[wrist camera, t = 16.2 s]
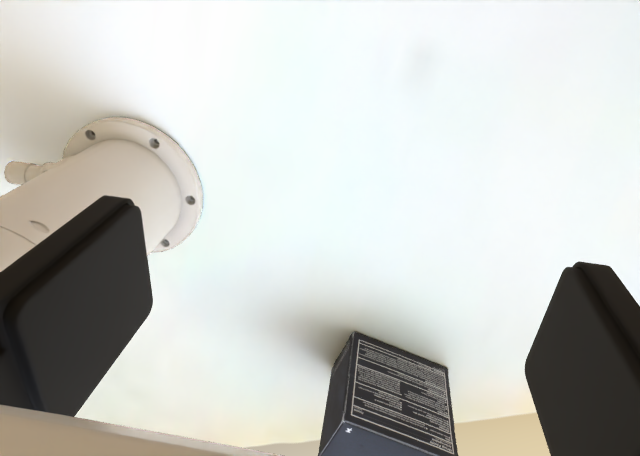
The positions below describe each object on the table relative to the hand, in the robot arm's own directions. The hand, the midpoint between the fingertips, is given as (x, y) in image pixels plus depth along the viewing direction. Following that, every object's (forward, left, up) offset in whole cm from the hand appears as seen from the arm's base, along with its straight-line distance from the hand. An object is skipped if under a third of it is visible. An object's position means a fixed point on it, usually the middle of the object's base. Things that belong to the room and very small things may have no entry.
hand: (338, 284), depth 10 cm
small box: (+5, -29, -26) cm, 40 cm away
